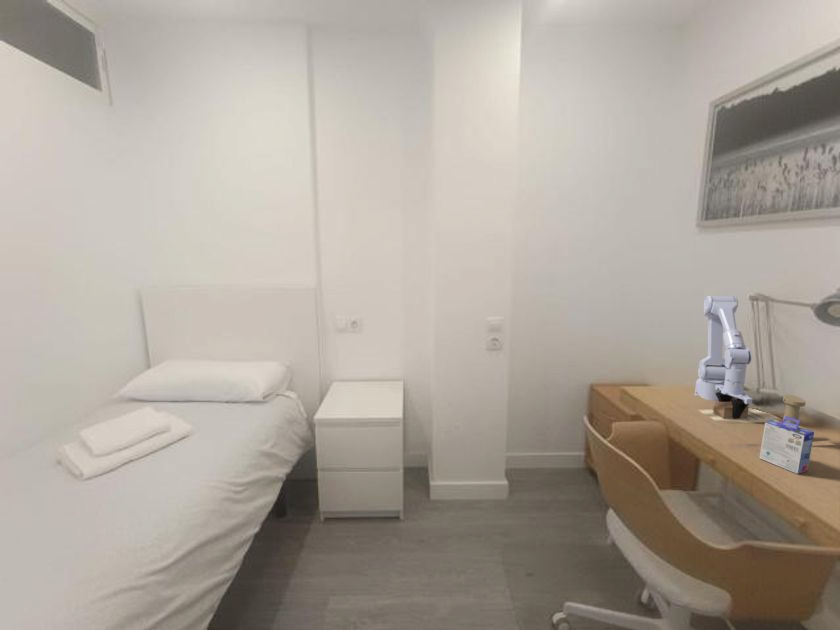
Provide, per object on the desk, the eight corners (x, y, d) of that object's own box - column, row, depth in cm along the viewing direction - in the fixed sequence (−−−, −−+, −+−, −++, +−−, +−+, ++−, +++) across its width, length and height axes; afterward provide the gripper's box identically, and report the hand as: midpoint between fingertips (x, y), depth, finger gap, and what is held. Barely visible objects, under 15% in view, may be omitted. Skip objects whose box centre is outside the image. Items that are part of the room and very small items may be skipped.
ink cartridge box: (809, 470, 116) (817, 424, 113) (798, 475, 114) (806, 428, 111) (768, 454, 125) (775, 411, 122) (758, 458, 123) (764, 414, 120)
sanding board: (688, 411, 157) (688, 407, 156) (757, 408, 158) (757, 405, 157) (719, 430, 141) (720, 426, 141) (796, 427, 142) (797, 423, 142)
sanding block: (713, 413, 151) (714, 402, 150) (736, 412, 151) (737, 401, 151) (723, 419, 146) (724, 407, 145) (747, 418, 147) (748, 406, 146)
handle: (790, 437, 135) (796, 395, 132) (802, 446, 129) (809, 403, 126) (773, 435, 136) (779, 394, 134) (784, 445, 130) (791, 401, 128)
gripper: (709, 373, 153) (705, 407, 156) (740, 387, 139) (735, 423, 142) (726, 373, 154) (722, 406, 156) (759, 386, 139) (754, 423, 142)
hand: (730, 414), depth 149 cm, fingers closed on sanding block, 5 cm apart
